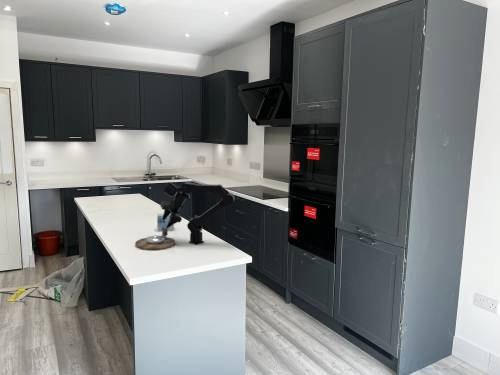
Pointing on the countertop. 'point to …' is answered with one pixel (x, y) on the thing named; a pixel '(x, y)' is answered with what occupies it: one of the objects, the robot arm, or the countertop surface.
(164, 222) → the light bulb box
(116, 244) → the countertop surface
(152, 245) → the dial base plate
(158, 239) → the dial
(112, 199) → the countertop surface
